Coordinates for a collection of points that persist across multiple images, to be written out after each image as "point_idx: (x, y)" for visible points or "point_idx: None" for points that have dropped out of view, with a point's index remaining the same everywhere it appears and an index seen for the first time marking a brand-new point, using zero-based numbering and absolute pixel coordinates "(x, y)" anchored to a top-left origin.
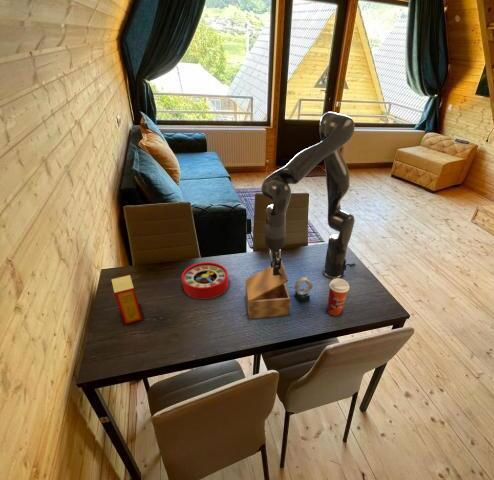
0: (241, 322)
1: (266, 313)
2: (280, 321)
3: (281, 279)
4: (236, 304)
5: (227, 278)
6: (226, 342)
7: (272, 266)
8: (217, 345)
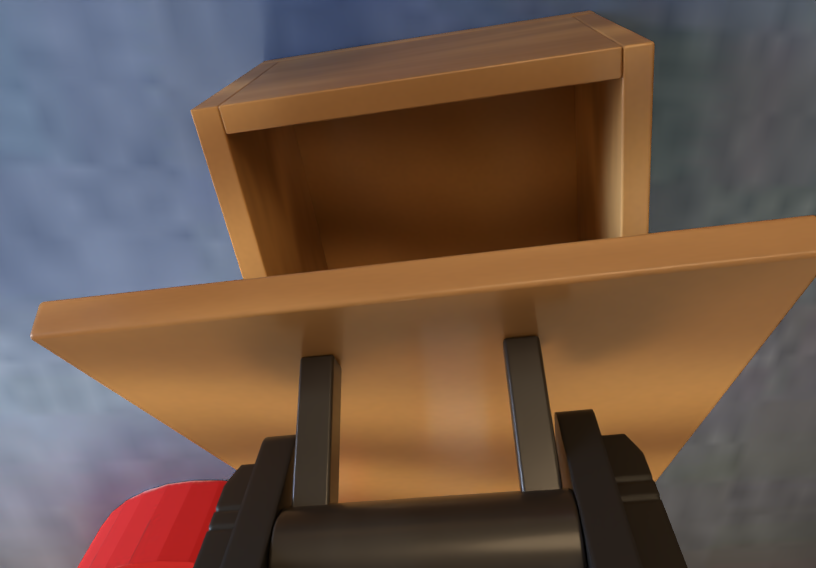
0: None
1: None
2: (668, 104)
3: (672, 330)
4: None
5: (199, 538)
6: (797, 468)
7: None
8: (807, 507)
